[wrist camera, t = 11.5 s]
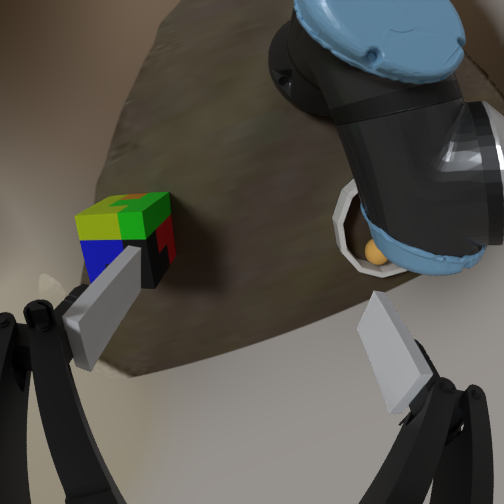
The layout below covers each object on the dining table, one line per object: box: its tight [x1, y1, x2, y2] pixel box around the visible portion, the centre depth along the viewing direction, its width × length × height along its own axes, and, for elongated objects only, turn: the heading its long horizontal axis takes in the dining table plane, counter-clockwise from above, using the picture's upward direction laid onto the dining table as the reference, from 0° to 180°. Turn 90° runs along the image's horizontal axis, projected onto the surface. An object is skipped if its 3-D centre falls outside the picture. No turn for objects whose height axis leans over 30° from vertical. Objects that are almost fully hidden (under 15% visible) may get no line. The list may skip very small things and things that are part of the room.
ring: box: [332, 179, 407, 278], centre depth 38 cm, size 16×16×3 cm
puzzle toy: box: [75, 192, 176, 289], centre depth 37 cm, size 10×10×10 cm
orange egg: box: [365, 239, 388, 265], centre depth 39 cm, size 4×4×4 cm
